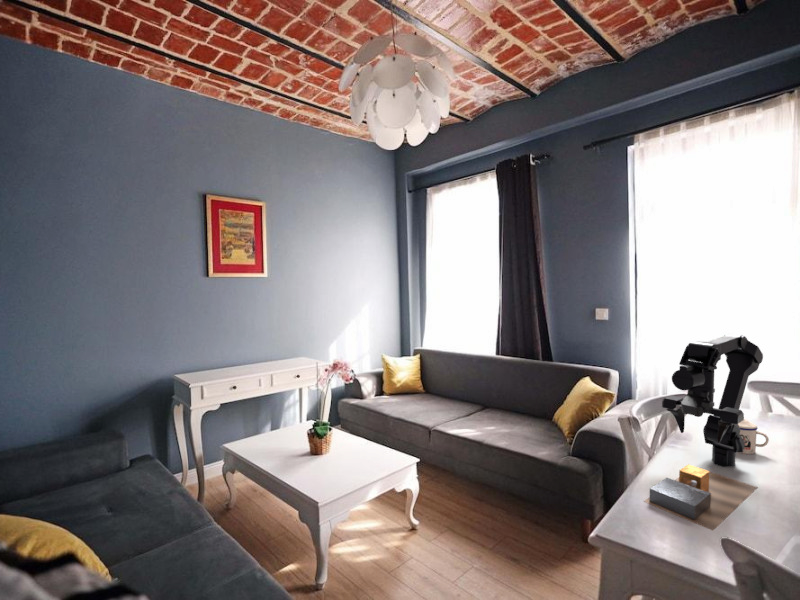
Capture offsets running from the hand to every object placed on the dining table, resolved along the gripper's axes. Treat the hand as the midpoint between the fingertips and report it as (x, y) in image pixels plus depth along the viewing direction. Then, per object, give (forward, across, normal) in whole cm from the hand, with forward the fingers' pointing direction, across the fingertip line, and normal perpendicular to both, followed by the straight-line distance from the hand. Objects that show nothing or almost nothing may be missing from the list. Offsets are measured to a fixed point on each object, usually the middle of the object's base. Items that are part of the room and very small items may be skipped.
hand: (700, 437), depth 121 cm
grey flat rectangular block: (+10, +4, -18) cm, 21 cm away
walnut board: (+12, +5, -14) cm, 19 cm away
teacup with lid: (+13, +2, +34) cm, 36 cm away
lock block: (+10, +3, -12) cm, 16 cm away
